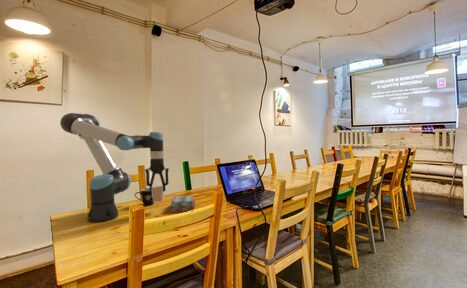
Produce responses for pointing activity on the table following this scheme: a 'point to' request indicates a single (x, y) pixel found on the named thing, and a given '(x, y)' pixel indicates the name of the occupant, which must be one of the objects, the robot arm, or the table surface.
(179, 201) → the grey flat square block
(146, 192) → the coffee mug
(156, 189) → the top brick
